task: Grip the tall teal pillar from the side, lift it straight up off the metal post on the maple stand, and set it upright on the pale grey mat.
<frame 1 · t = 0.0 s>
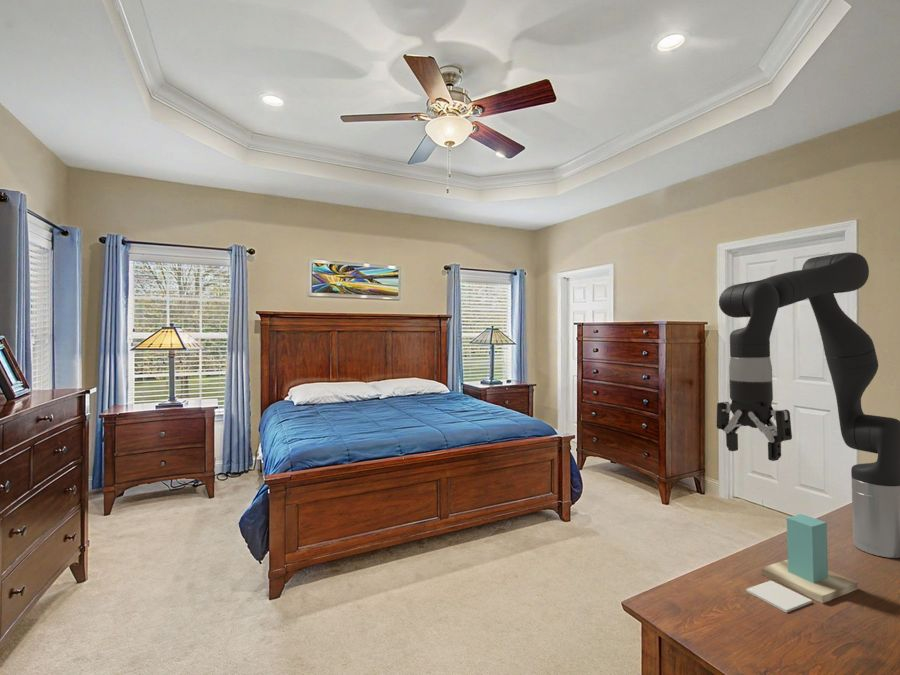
hand: (752, 455, 94), 29 cm above the dresser, fingers open, 8 cm apart
tall teal pillar: (807, 574, 98), point 1 cm above the dresser, touching post stand
post stand: (807, 581, 98), on the dresser
mat: (778, 596, 92), on the dresser
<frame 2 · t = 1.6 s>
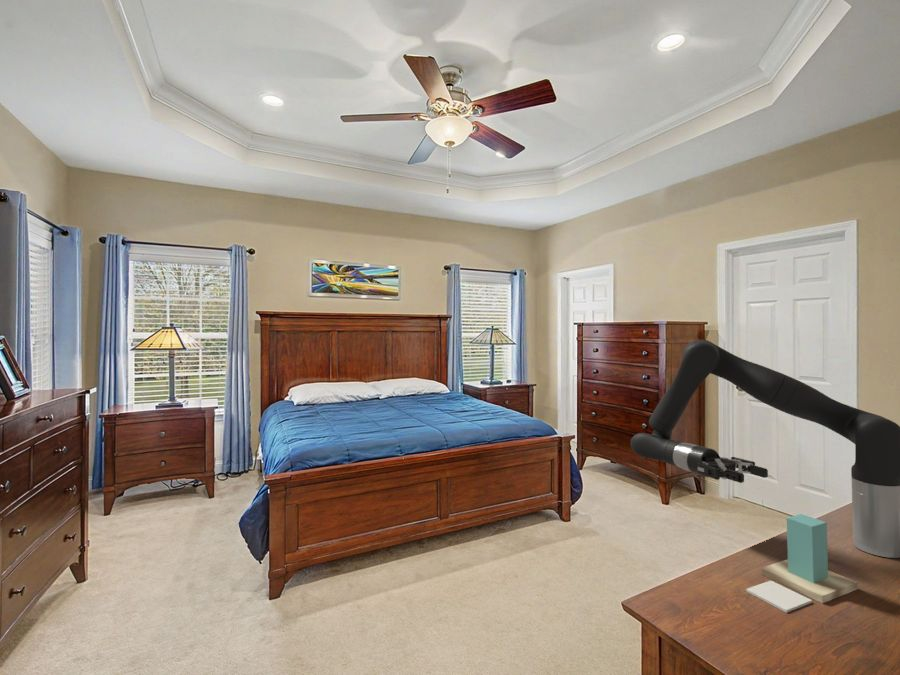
hand: (755, 476, 108), 20 cm above the dresser, fingers open, 8 cm apart
nothing on the dresser moved.
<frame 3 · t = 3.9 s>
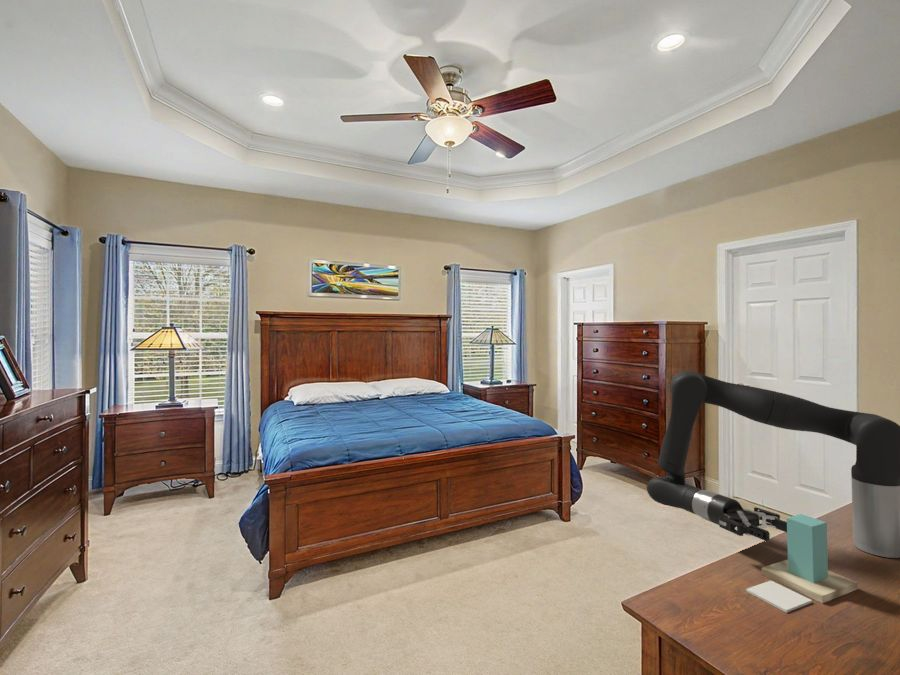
hand: (781, 533, 103), 8 cm above the dresser, fingers open, 8 cm apart
nothing on the dresser moved.
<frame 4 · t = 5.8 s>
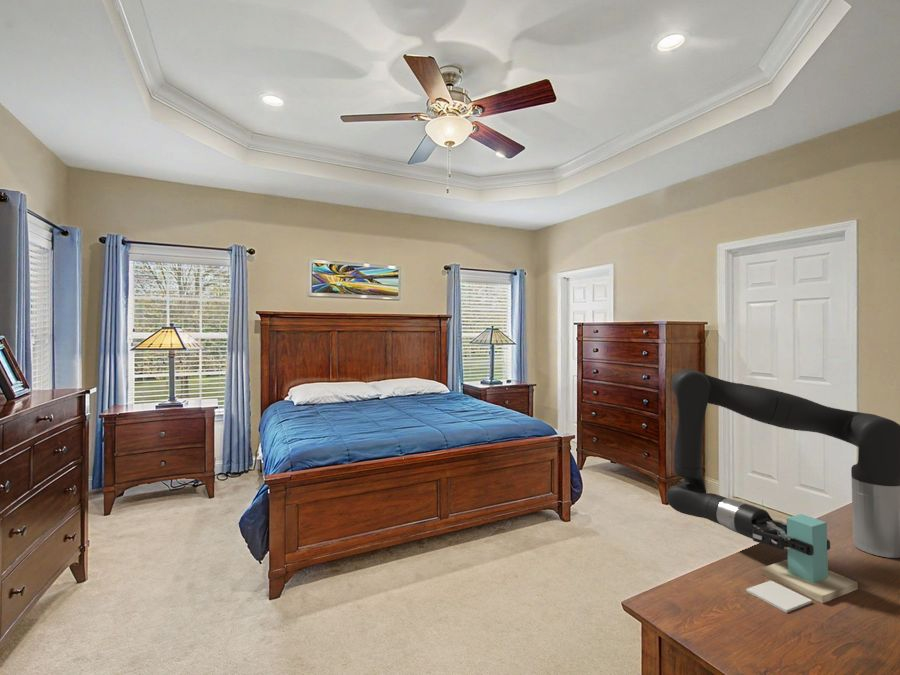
hand: (820, 548, 95), 9 cm above the dresser, fingers closed on tall teal pillar, 5 cm apart
tall teal pillar: (807, 574, 98), point 2 cm above the dresser, touching gripper, post stand
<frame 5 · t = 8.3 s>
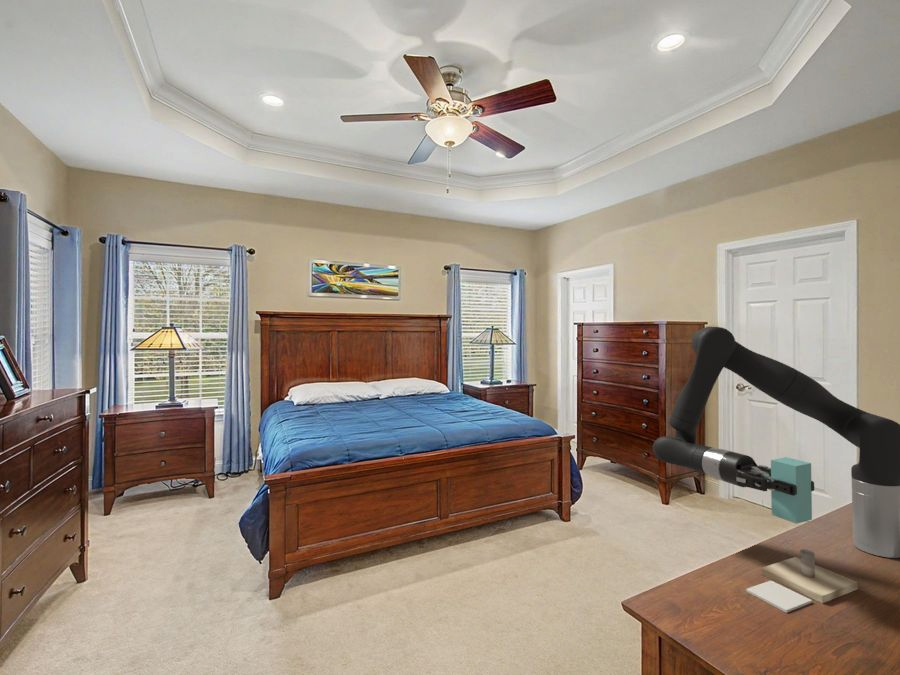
hand: (804, 488, 93), 22 cm above the dresser, fingers closed on tall teal pillar, 5 cm apart
tall teal pillar: (791, 517, 96), point 15 cm above the dresser, touching gripper
when the fingers open (9 cm above the dresser, at t = 10.6 s): tall teal pillar drops 2 cm, resting on mat.
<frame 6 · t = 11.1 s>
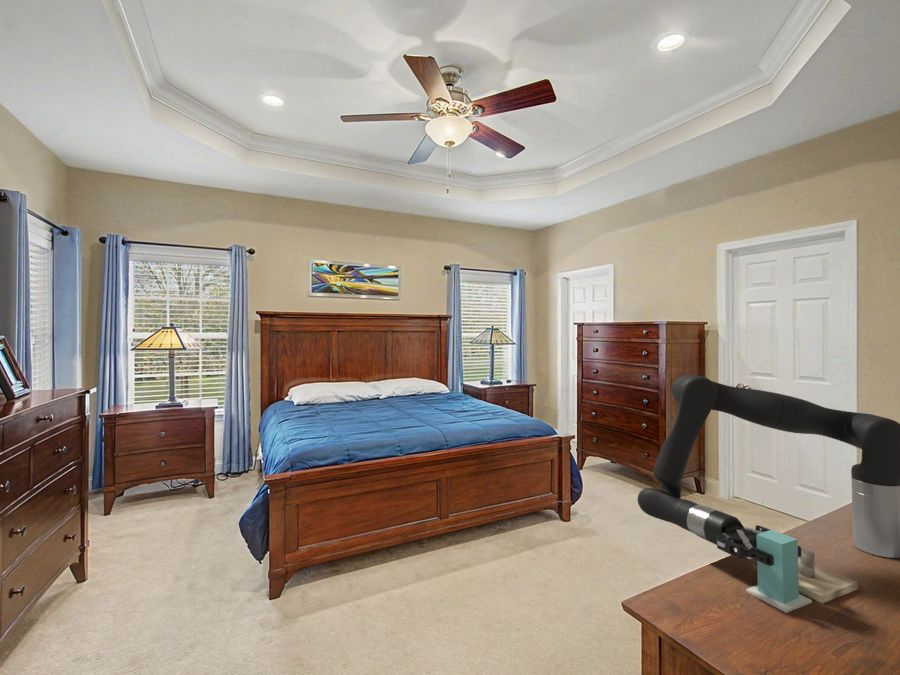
hand: (786, 556, 91), 9 cm above the dresser, fingers open, 8 cm apart
tall teal pillar: (778, 594, 92), point 1 cm above the dresser, touching mat
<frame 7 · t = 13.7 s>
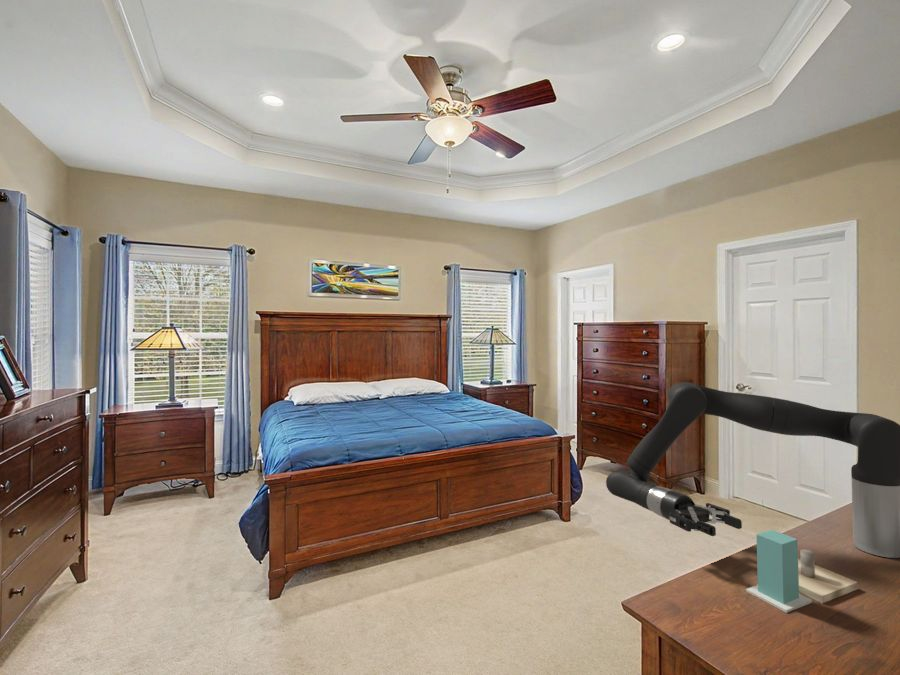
hand: (727, 528, 103), 10 cm above the dresser, fingers open, 8 cm apart
nothing on the dresser moved.
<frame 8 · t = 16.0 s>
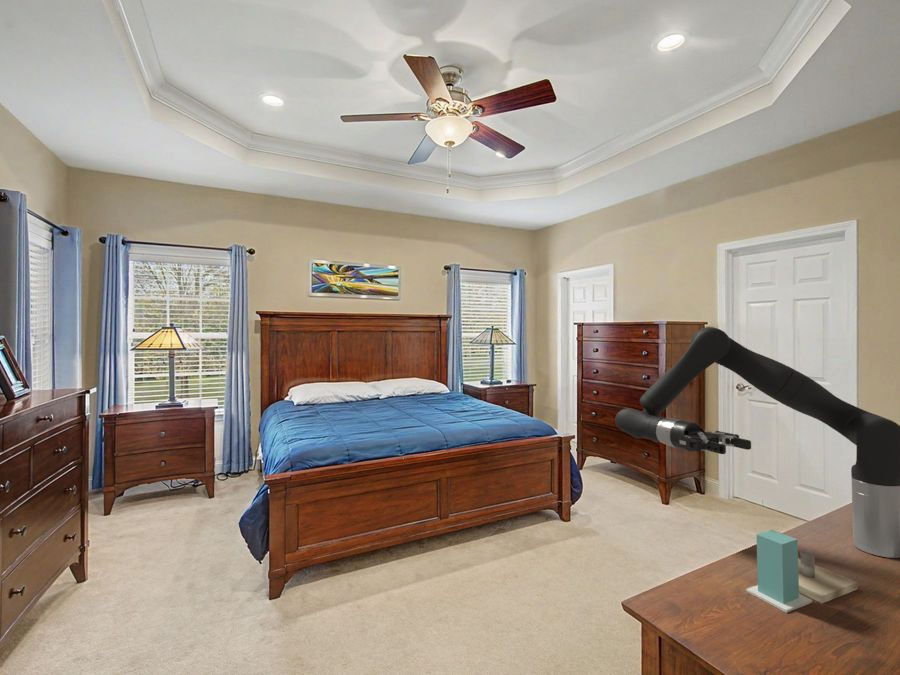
hand: (737, 447, 104), 28 cm above the dresser, fingers open, 8 cm apart
nothing on the dresser moved.
at the end: tall teal pillar inside the target area (0.0 cm from its centre), point 0.5 cm above the dresser; tall teal pillar tilted 0°; the gripper is holding nothing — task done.
